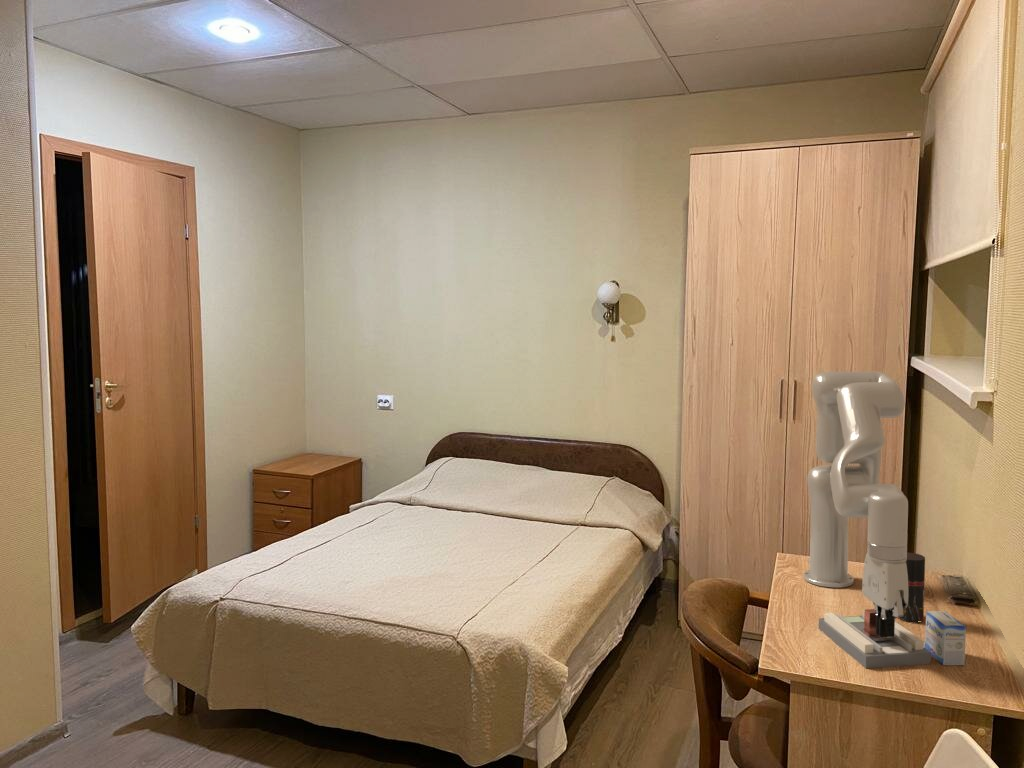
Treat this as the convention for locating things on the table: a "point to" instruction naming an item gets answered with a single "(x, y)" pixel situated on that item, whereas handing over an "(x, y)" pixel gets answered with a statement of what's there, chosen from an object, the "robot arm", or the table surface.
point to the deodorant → (915, 588)
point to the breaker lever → (872, 626)
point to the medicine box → (945, 638)
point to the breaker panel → (874, 643)
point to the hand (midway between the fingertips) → (885, 635)
